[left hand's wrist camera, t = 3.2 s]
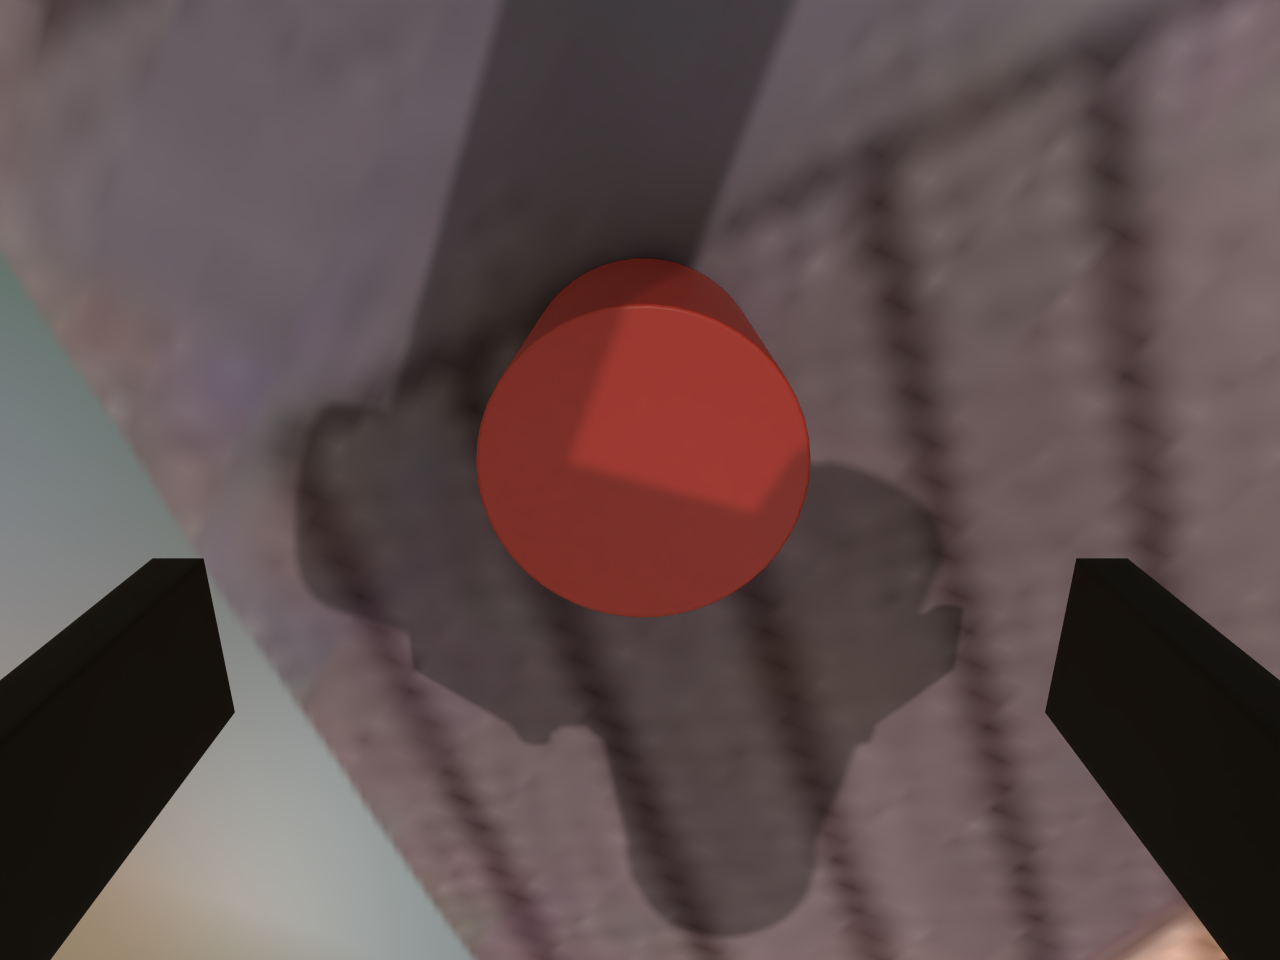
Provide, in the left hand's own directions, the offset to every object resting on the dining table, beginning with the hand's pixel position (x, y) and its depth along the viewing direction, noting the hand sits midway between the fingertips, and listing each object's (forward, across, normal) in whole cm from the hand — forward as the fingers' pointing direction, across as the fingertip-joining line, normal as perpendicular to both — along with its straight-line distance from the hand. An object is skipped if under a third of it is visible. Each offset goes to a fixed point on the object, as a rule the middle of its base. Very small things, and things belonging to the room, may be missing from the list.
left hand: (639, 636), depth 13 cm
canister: (+15, 0, 0) cm, 15 cm away
